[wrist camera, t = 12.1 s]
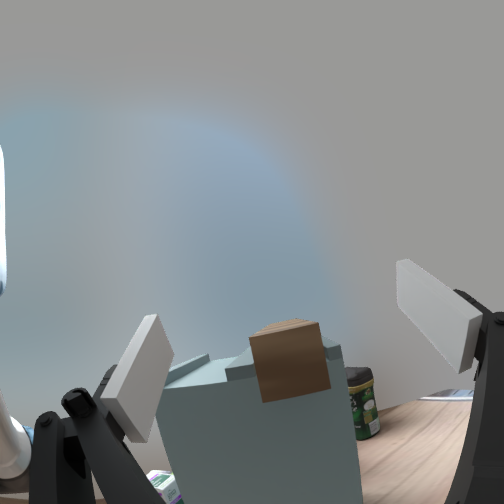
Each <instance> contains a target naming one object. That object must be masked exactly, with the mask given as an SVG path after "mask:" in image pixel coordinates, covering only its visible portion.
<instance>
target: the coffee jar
mask: <svg viewBox="0 0 504 504" xmlns="http://www.w3.org/2000/svg"><path fill="white" fill-rule="evenodd" d="M345 373H346V378H347V384H348V390H349V396H350V402H351V408H352V415H353V421H354V428H355V435H356V439H358V440H363V439H366V438H369V437H372V436H373V435H375V434H376V433H377V432H378V431H379V430H380V423H379V418H378V413H377V408H376V403H375V398H374V391H373V383H374V378H373V374H372V371H371V369H370V368H368V367H359V368H358V367H346V368H345Z"/></svg>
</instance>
